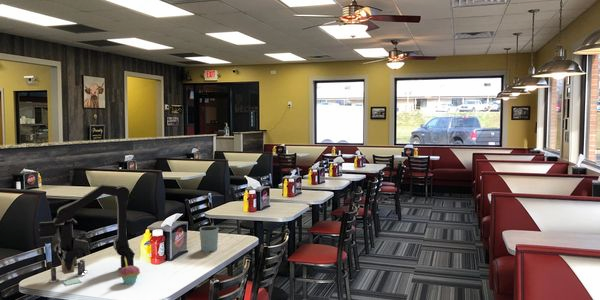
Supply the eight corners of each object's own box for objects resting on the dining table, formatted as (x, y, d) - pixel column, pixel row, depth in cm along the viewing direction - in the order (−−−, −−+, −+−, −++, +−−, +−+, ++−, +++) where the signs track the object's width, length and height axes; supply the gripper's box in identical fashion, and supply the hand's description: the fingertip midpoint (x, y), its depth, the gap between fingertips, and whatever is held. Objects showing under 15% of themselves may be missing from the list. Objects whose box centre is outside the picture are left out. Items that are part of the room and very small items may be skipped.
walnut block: (64, 274, 206) (63, 260, 206) (62, 271, 209) (61, 258, 209) (74, 272, 209) (73, 258, 208) (71, 269, 212) (70, 256, 211)
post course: (90, 274, 215) (90, 261, 214) (50, 283, 204) (49, 270, 203) (78, 265, 229) (77, 253, 229) (39, 273, 218) (38, 260, 217)
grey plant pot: (210, 246, 259) (209, 224, 258) (223, 249, 253) (222, 227, 252) (196, 250, 250) (195, 228, 250) (209, 253, 245) (208, 231, 244)
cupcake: (128, 287, 198) (126, 259, 197) (115, 283, 202) (113, 256, 201) (144, 280, 205) (143, 254, 204) (131, 277, 210) (130, 251, 209)
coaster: (81, 282, 205) (81, 281, 205) (66, 285, 201) (66, 284, 201) (77, 278, 209) (77, 277, 209) (62, 282, 205) (62, 281, 205)
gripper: (91, 235, 206) (93, 270, 207) (78, 228, 220) (80, 260, 221) (64, 240, 199) (66, 276, 200) (52, 232, 213) (54, 266, 214)
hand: (67, 269), depth 209 cm, fingers closed on walnut block, 4 cm apart
